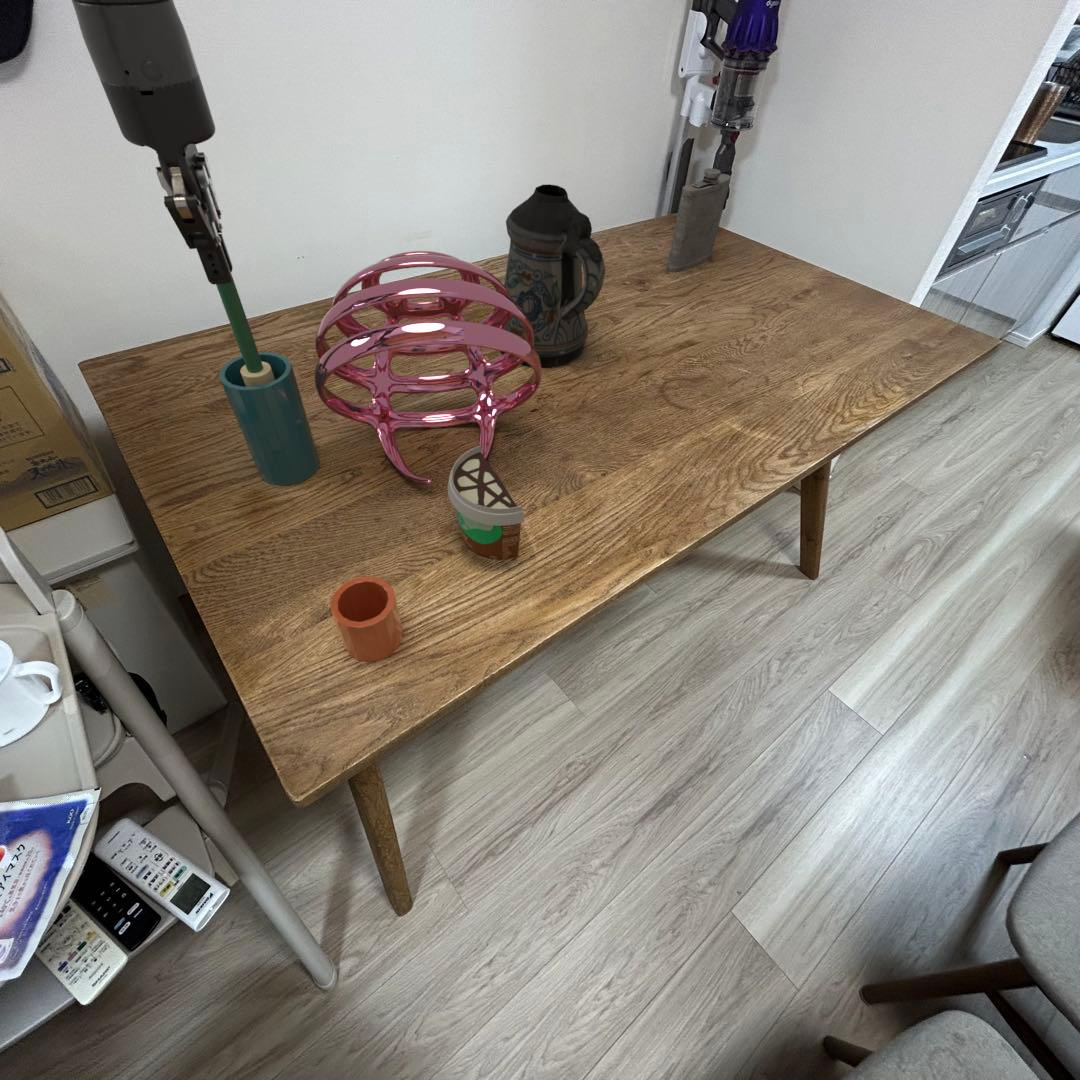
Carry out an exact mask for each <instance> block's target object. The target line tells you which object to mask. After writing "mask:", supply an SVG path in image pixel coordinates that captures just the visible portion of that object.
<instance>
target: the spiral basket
mask: <svg viewBox="0 0 1080 1080" xmlns="http://www.w3.org/2000/svg"><path fill="white" fill-rule="evenodd" d="M411 268H413V269H414V268H440V269H449V270H455V271H458V272H459V275H460V277H461V279H449V278H437V277H436V278H435V277H434V278H429V277H428V278H427V277H426V278H410V279H401V280H395V281H390V282H385V283H381V282H380V278H381V276H382V274H384V273H388V272H392V271H398V270H403V269H404V270H405V269H411ZM480 278H481V279H483V280H485V281H487V282H488V283H489V284H491V285H492V287H494V288H491V287H488V286H485V285H482V284H481V281H480ZM360 283H361V284H360ZM358 284H360V285H361V290H359V291H356V292H354V293H352V294H350V295H348V294H349V292H350V291H351V290H352V289H353V288H355V286H357V285H358ZM425 298H430V299H431V298H438V299H436V300H432V301H420V302H419V301H409V300H411V299H425ZM473 302H475V303H476V302H477V303H481V304H485V305H489V306H491V307H494V309H493V311H492V312H491V313H490V314H489V315H488V316H487V317H486V318H484V319H483V320H482V321H481V322H473V321H467V320H466V318H465V317H464V314H463V310H464V309H466V308H467V307H469V306H470V305H471V304H472V303H473ZM370 307H373V308H375V309H376V310H378V311H380V312H382V313H384V314H385V315H386V320H385V323H384V325H383V326H379V327H374V328H370V327H368V326H366V325H364V324H363V323H361V322H359V321H358V320H357V319H356V318H354V316H353V314H355V313H357V312H359V311H362V310H365V309H368V308H370ZM512 315H513V316H515V317H516V318H517V319H519V320H520V321H521V322H522V323H523V325H524V330H523V334H522V336H521V337H520V336H518V335H516V334H514V333H512V332H509V331H507V330H504V329H503V328H504V327H505V326H506V325H507V324H508V322H509V320H510V318H511V316H512ZM443 317H446V318H447V317H448V318H449V319H438V318H443ZM403 319H409V320H412V321H404V322H401V320H403ZM450 319H451V320H450ZM413 320H414V321H413ZM334 326H336V328H337V329H338V331H339V332H340V333H341V334H343V336H344V337H346V338H345V339H343V340H341V341H339V342H338V343H336V344H335V345H333V346H332V347H330V346H329V344H328V342H327V339H326V335H327V333H328V332H329V331H330V329H332V327H334ZM315 335H316V336H315V344H314V345H315V352H316V355H317V358H318V362H317V364H316V367H315V370H314V385H315V390H316V393H317V395H318V397H319V399H320V401H321V402H322V403H323V404H324V405H325V406H326V408H328V409H329V410H330V411H332V412H333V413H334V414H337V415H339V416H341V417H343V418H346V419H348V420H351V421H354V422H356V423H361V424H364V425H367V426H370V427H372V428H373V429H374V431H375V432H376V435H377V436H378V438H379V441H380V444H381V446H382V449H383V451H384V453H385V455H386V456H387V458H388V460H389V461H390V463H391V464H392V466H393V467H394V468H395V469H396V470H397V471H398V472H399V473H400V474H401V475H402V476H403V477H405V478H407V480H410V481H412V482H413V483H416V484H419V485H424V486H428V485H431V484H432V480H431V479H430V478H427V477H423V476H420V475H418V474H416V473H415V472H413V471H412V470H411V469H410V468H409V466H408V465H407V463H406V462H405V460H404V458H403V456H402V454H401V451H400V449H399V447H398V444H397V441H396V437H395V432H396V431H397V430H400V429H401V430H402V429H408V430H409V429H412V430H414V429H420V430H421V429H437V428H439V429H440V428H449V427H455V426H456V427H457V426H461V425H467V424H477V425H478V427H479V439H478V446H480V445H481V450H482V455H483V456H484V458H485V459H486V460H487V459H488V456H489V454H490V452H491V449H492V445H493V441H494V436H495V429H496V423H497V421H498V419H499V417H501V416H503V414H505V413H507V412H510V411H512V410H513V409H516V408H518V407H520V406H521V405H522V404H524V403H525V402H527V401H528V400H530V399H531V398H532V397H533V396H534V395H535V394H536V392H537V391H538V389H539V387H540V385H541V381H542V376H543V368H542V366H541V360H540V357H539V355H538V353H537V351H536V350H535V348H534V347H533V345H534V331H533V328H532V325H531V322H530V320H529V318H528V316H527V315H526V313H525V312H524V310H523V309H522V308H521V307H520V306H519V305H518V304H517V303H516V302H515V301H513V300H512V298H511V296H510V294H509V292H508V290H507V289H506V287H505V286H504V283H503V282H501V280H499V279H498V278H497V277H496V276H495V275H493V274H492V273H491V272H489V271H488V270H486V269H484V268H482V267H481V266H479V265H477V264H474V263H472V262H469V261H466V260H463V259H460V258H458V257H456V256H453V255H450V254H447V253H443V252H439V251H433V250H432V251H431V250H413V251H412V250H411V251H405V252H399V253H396V254H391V255H390V256H387V257H385V258H383V259H380V260H379V261H377V262H376V263H372V264H371V265H368V266H366V267H363V268H362V269H361V270H359V271H357V272H356V273H354V274H353V275H352V276H350V277H349V278H348V279H346V280H345V282H344V283H343V284H342V285H341V286H340V288H339V289H338V290H337V292H336V294H335V296H334V297H333V300H332V304H331V308H330V309H329V310H328V311H327V312H326V314H325V315H324V316H323V317H322V319H321V321H320V323H319V325H318V328H317V332H316V334H315ZM482 348H485V349H491V350H495V351H498V352H500V351H502V352H505V353H506V354H504V355H501V356H499V357H498V358H496V359H493V360H487V359H486V357H485V356H484V354H483V351H482ZM454 353H464V354H465V355H466V357H467V360H468V366H467V368H466V369H464V370H461V371H456V372H450V373H443V374H432V375H401V374H396V373H394V372H393V371H392V369H391V362H392V360H393V359H394V357H397V356H407V357H431V356H433V357H435V356H442V355H448V354H454ZM371 355H374V362H373V365H372V367H370V368H364V367H362V366H358V365H356V364H354V363H353V362H355V361H358V360H360V359H362V358H365V357H368V356H371ZM524 361H525V362H526V363H528V364H529V365H530V366H531V367H530V368H531V369H532V370H533V373H532V375H530V376H529V378H528V379H527V380H526V381H525V382H524V383H523V384H522V385H520V386H519V387H517V388H516V389H514V390H512V391H511V392H509V393H507V394H505V395H503V396H496V394H495V393H494V383H496V381H497V380H498V379H499V378H501V377H503V376H506V375H508V374H509V373H511V372H512V371H514V370H515V369H517V368H518V367H519V366H521V364H522V363H523V362H524ZM332 375H334V376H335V377H338V378H339V379H341V380H342V381H345V382H348V383H350V384H352V385H356V386H359V387H362V388H364V389H366V390H367V391H369V393H370V396H371V404H370V405H369V406H364V405H359V404H357V403H353V402H350V401H348V400H346V399H343V398H341V397H339V396H338V395H336V394H335V393H333V392H331V391H330V390H329V389H328V388H327V387H326V385H325V384H326V382H327V381H328V379H329V378H330V377H331V376H332ZM466 389H470V390H473V391H475V393H476V401H475V403H473V404H472V405H469V406H467V407H462V408H461V407H460V408H457V409H456V408H455V409H449V410H448V409H447V410H440V411H438V410H437V411H420V412H419V411H416V412H415V411H413V412H412V411H410V412H409V411H398V410H395V409H394V408H393V407H392V406H391V402H390V401H391V397H392V396H393V395H395V394H408V395H410V394H411V395H412V394H414V395H417V394H418V395H421V394H422V395H423V394H439V393H440V394H441V393H448V392H454V391H461V390H466Z"/></svg>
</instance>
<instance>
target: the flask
mask: <svg viewBox="0 0 1080 1080" xmlns="http://www.w3.org/2000/svg"><path fill="white" fill-rule="evenodd" d="M703 175H704V176H703V178H702V180H699V181H697V182H694V183H692V184H688V185H683V187H682V191H681V193H680V194H681V195H680V200H679V205H678V210H677V215H676V220H675V224H674V229H673V234H672V240H671V245H670V248H669V249H670V250H669V254H668V259H667V264H666V270H667V271H669V272H673V273H678V272H681V271H685V270H688V269H691V268H693V267H696V266H698V265H700V264H702V263H704V262H706V261H707V260H708V259H710V258H711V257H712V255H713V251H714V247H715V243H716V238H717V234H718V230H719V227H720V224H721V223H720V222H721V220H722V219H721V218H722V214H723V211H724V206H725V203H726V198H727V196H728V195H727V194H728V190H729V186H730V183H731V179H732V176H731V175H729V174H726V173H722V172H721V170H719V169H717V168H711V167H709V168H705V169H704V171H703Z"/></svg>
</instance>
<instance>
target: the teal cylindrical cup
mask: <svg viewBox="0 0 1080 1080" xmlns="http://www.w3.org/2000/svg"><path fill="white" fill-rule="evenodd" d="M258 353H259V356H260V359H261V361H262V362H266V363H268V364H269V365H270V366H271V369H272V372H273V375H274V378H275V381H273V382H271V383H268V384H265V385H261V386H254V387H246V386H245V383H244V380H243V378H242V375H241V372H240V370H241V368H242V367H243V366H244V365H245V362H244V360H243V357H242V355H238V356H237V357H235V358H233V359H230V360H229V361H228V362H227V363H225V364H223V366H222V367H221V369H220V371H219V376H218V377H219V381H220V383H221V385H222V388H223V389H224V393H225V395H226V397H227V400H228V402H229V405H230V407H231V409H232V411H233V414H234V417H235V419H236V422H237V424H238V426H239V429H240V431H241V434H242V436H243V439H244V441H245V443H246V446H247V449H248V450H249V453H250V456H251V459H252V460H253V463H254V465H255V467H256V470H257V472H258V475H259V476H260V478H261V479H262V480H263V481H265V482H266V483H268V484H271V485H276V486H291V485H296V484H299V483H303V482H304V481H306V480H308V479H309V478H311V477H312V476H313V475H314V474H316V472H317V471H318V469H319V468H320V464H321V459H320V456H319V451H318V448H317V445H316V441H315V439H314V436H313V432H312V428H311V425H310V422H309V419H308V416H307V411H306V409H305V405H304V402H303V399H302V396H301V392H300V388H299V386H298V382H297V379H296V376H295V373H294V369H293V365H292V363H291V362H290V360H289V359H288V358H287V357H286V356H284V355H282V354H280V353H275V352H269V351H268V352H267V351H258Z"/></svg>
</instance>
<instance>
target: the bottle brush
mask: <svg viewBox="0 0 1080 1080" xmlns="http://www.w3.org/2000/svg"><path fill="white" fill-rule="evenodd" d="M199 233H203V232H197V234H199ZM220 243H221V242H220ZM221 246H222V245H221ZM222 249H223V248H222ZM223 252H224V251H223ZM224 255H225V254H224ZM225 258H226V257H225ZM226 261H227V260H226ZM227 264H228V262H227ZM228 267H229V265H228ZM229 270H230V268H229ZM230 272H231V271H230ZM231 275H232V272H231ZM215 286H216V289H217V291H218V294H219V297H220V299H221V302H222V305H223V308H224V310H225V313H226V315H227V319H228V321H229V324H230V327H231V329H232V332H233V335H234V338H235V340H236V343H237V346H238V348H239V351H240V354H241V356H242V357H243V360H244V362H245V365H244V366H243V367H242V368H241V370H240V372H241V375H242V378H243V380H244V383H245V386H246V387H254V386H261V385H265V384H268V383H271V382H273V381H275V378H274V375H273V372H272V369H271V366H270V365H269V364H268V363H266V362H262V361H261V359H260V356H259V353H258V352H259V351H258V347H257V344H256V341H255V338H254V335H253V333H252V330H251V327H250V324H249V321H248V317H247V315H246V312H245V309H244V306H243V303H242V301H241V298H240V295H239V292H238V289H237V285H236V283H235V280H234V277H233V275H232V280H231V282H230V283H227V284H215Z"/></svg>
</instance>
